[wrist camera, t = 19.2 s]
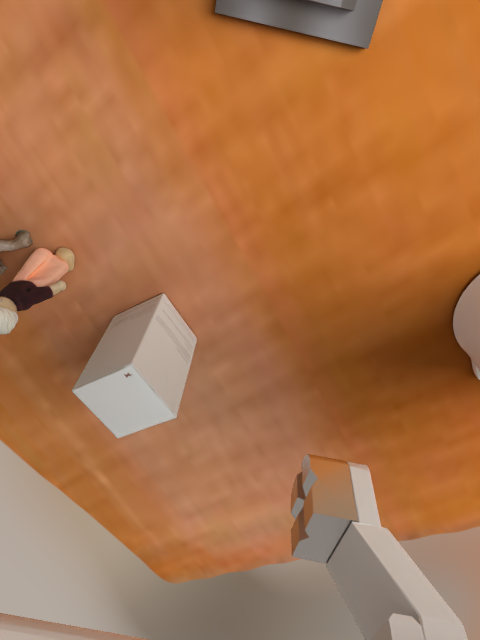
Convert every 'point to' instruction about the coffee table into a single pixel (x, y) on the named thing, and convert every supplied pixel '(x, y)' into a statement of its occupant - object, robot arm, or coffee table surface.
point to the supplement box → (138, 368)
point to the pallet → (311, 17)
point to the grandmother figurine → (34, 284)
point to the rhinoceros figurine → (15, 244)
